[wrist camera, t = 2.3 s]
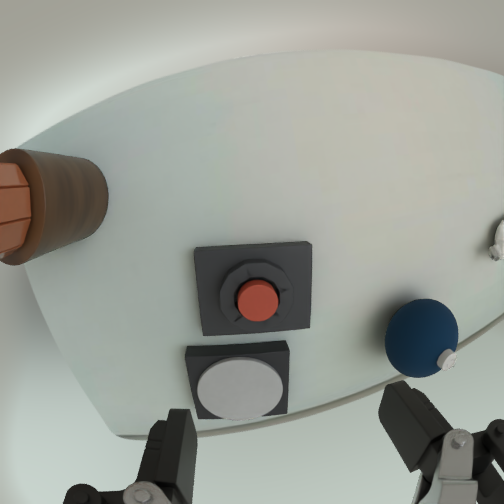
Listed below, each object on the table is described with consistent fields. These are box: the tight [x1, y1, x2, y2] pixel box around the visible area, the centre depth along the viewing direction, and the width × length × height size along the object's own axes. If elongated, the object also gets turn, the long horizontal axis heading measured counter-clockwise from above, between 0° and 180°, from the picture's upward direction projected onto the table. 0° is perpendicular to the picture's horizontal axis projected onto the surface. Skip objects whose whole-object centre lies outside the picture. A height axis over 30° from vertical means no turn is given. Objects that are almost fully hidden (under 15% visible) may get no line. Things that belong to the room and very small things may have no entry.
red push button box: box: [194, 241, 312, 336], centre depth 24 cm, size 10×8×3 cm
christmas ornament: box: [385, 299, 458, 378], centre depth 23 cm, size 8×8×10 cm
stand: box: [0, 148, 108, 265], centre depth 18 cm, size 8×8×10 cm
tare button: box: [238, 280, 278, 321], centre depth 22 cm, size 3×3×1 cm
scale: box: [185, 341, 290, 421], centre depth 27 cm, size 10×9×3 cm
